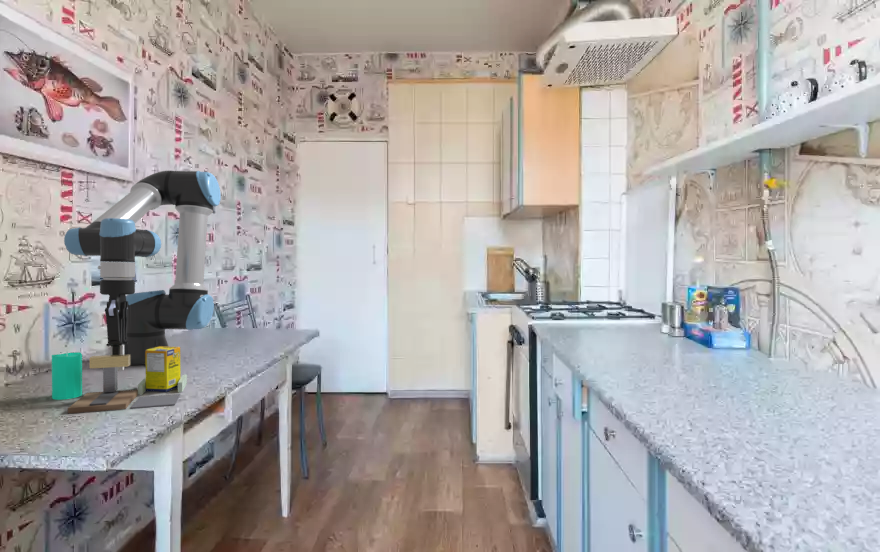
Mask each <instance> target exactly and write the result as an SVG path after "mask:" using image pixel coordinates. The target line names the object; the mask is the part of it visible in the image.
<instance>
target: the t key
mask: <svg viewBox="0 0 880 552" xmlns="http://www.w3.org/2000/svg"><path fill="white" fill-rule="evenodd" d="M129 366H131V365H130V354H126V355H111V354H105V355H91V356H89V369H102V373H103V374H102V378H103V379H102V380H103V381H102V382H103V383H102V385H103V386H102V392H115V391H118V386H119V385H118V371H117V367H124V368H125V367H129Z"/></svg>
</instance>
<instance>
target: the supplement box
mask: <svg viewBox="0 0 880 552" xmlns="http://www.w3.org/2000/svg"><path fill="white" fill-rule="evenodd" d="M145 362H146V363H145V364H144V365H145V377H146V391H145V392H159V393H168V392H170V391H173V390H175V389H178V382H179V380H180V379H181V377H182V375H181V373H182V372H181V366H182V365H181V347H180V346H169V347H165V346H159V347H155V348H151V349H147V350H146V351H145Z"/></svg>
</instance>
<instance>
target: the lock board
mask: <svg viewBox="0 0 880 552" xmlns="http://www.w3.org/2000/svg"><path fill="white" fill-rule="evenodd" d="M137 396H139V395H138V388H137V389H124V390H122V389H121V390H116V391H115V392H103V391H94V392H93V391H91V392H86V393H85V394H84V395H81V396H80V398H79V399H77V400H76V401H75V402H74V403H72V404H71V405H70V406H69V407H67V414H77V413H78V414H79V413H90V412H101V411H102V412H106V411H107V412H108V411H117V410H127V408H128V407H129V406H130V405H131V403H133V401H134V400H135V399H136V398H137Z"/></svg>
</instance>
